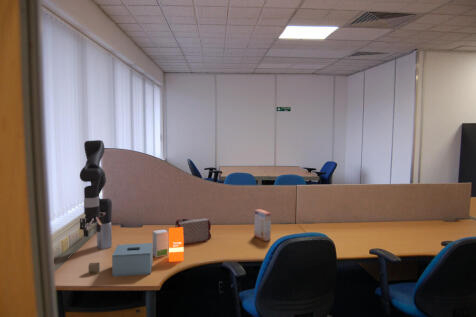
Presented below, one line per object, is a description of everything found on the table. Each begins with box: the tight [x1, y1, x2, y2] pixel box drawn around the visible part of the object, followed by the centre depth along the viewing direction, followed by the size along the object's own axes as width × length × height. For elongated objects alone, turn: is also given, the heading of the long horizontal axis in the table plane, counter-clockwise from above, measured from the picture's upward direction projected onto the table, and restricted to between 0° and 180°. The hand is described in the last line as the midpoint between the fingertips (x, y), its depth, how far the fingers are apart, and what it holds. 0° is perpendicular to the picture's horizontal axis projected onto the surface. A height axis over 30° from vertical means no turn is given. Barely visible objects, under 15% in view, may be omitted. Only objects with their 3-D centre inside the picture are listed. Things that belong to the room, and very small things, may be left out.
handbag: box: [174, 217, 212, 246], centre depth 227 cm, size 28×11×17 cm, turn 120°
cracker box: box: [253, 208, 272, 242], centre depth 235 cm, size 14×6×21 cm, turn 29°
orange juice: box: [168, 227, 185, 263], centre depth 194 cm, size 8×9×20 cm
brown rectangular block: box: [88, 262, 101, 275], centre depth 174 cm, size 3×5×5 cm, turn 101°
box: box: [111, 242, 154, 277], centre depth 179 cm, size 16×20×12 cm
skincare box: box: [152, 229, 169, 258], centre depth 200 cm, size 8×7×16 cm
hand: (92, 234), depth 171 cm, fingers open, 8 cm apart
